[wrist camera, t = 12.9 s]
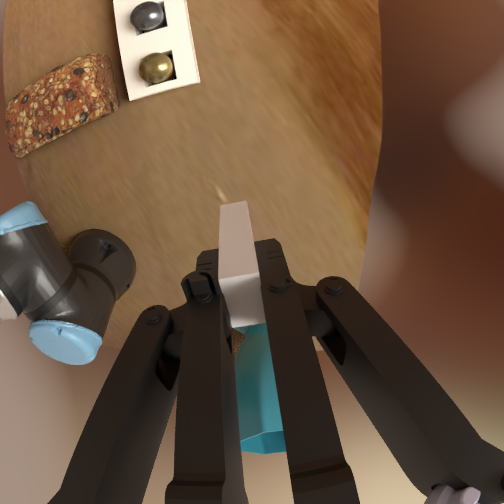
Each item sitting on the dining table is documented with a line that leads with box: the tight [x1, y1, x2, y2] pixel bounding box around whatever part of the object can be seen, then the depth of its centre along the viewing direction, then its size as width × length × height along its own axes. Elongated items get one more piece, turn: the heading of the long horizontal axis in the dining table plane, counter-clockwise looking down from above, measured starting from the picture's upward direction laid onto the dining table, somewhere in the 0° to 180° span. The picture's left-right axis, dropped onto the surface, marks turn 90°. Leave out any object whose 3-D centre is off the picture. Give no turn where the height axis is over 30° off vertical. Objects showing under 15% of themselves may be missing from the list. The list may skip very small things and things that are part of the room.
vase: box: [233, 323, 286, 454], centre depth 50 cm, size 17×17×30 cm
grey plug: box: [130, 1, 167, 32], centre depth 26 cm, size 4×4×6 cm
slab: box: [113, 0, 200, 101], centre depth 27 cm, size 10×24×4 cm, turn 8°
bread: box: [5, 53, 120, 158], centre depth 29 cm, size 19×11×10 cm, turn 99°
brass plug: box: [139, 52, 176, 83], centre depth 31 cm, size 4×4×6 cm
